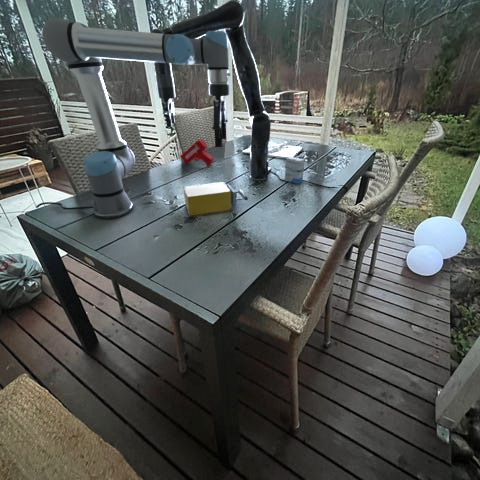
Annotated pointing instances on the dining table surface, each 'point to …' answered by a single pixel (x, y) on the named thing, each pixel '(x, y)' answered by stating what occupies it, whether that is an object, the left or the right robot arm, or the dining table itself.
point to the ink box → (294, 170)
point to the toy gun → (197, 153)
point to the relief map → (280, 150)
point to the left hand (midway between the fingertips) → (221, 142)
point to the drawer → (233, 195)
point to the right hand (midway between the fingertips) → (171, 125)
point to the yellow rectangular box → (207, 199)
